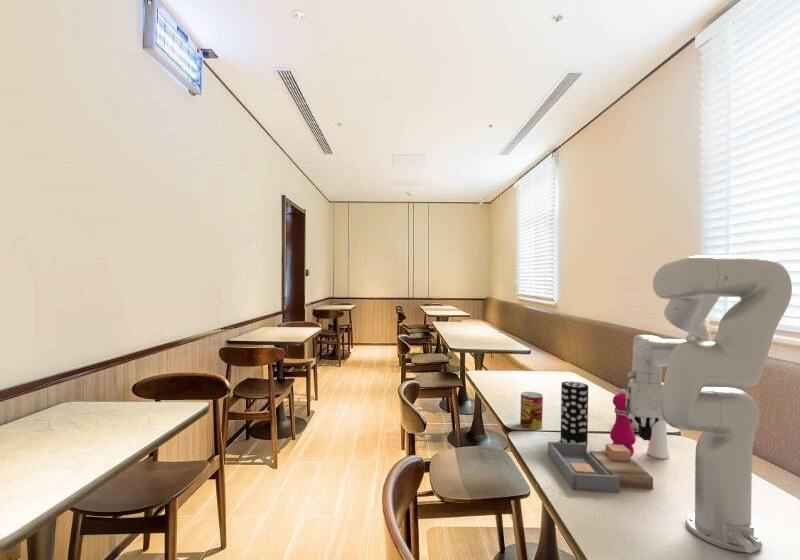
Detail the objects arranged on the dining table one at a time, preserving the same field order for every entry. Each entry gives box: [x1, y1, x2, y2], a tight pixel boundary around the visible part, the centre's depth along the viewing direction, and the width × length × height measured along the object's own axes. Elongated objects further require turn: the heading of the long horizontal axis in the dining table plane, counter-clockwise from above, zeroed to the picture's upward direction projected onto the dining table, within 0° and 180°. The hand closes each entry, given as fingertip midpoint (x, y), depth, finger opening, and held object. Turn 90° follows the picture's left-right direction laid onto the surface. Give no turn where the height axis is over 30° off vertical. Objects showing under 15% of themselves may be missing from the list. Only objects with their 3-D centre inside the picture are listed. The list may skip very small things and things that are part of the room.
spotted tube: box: [560, 381, 589, 445], centre depth 136 cm, size 8×8×20 cm
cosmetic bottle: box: [646, 420, 670, 460], centre depth 128 cm, size 6×6×22 cm
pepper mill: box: [609, 388, 637, 455], centre depth 131 cm, size 7×7×20 cm
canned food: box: [519, 391, 544, 431], centre depth 152 cm, size 8×8×12 cm
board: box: [589, 450, 654, 490], centre depth 115 cm, size 16×10×3 cm, turn 176°
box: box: [547, 441, 620, 494], centre depth 115 cm, size 22×12×4 cm, turn 176°
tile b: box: [605, 443, 632, 460], centre depth 119 cm, size 5×5×2 cm
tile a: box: [570, 463, 595, 474], centre depth 111 cm, size 5×5×2 cm
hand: (644, 438), depth 120 cm, fingers closed
